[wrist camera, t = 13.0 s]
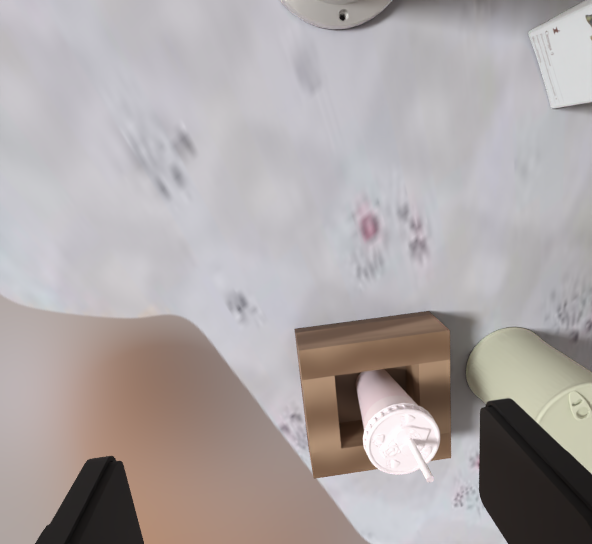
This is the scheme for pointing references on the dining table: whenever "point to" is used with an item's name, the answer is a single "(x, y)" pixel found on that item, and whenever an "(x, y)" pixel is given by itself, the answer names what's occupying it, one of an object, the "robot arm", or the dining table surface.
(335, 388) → the socket block
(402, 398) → the smoothie
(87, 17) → the dining table surface
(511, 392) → the can
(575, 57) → the supplement box
